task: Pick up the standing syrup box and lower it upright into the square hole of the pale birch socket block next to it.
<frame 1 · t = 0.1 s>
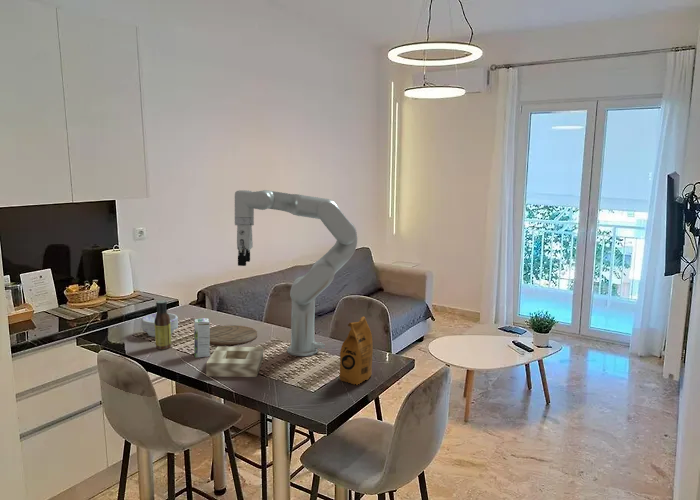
hand: (244, 263, 210), 37 cm above the table, tool pointing down, fingers open, 9 cm apart
coffee package: (355, 378, 190), on the table
sauce bottle: (163, 348, 217), on the table
trivet: (229, 337, 233), on the table
paper bowls: (160, 334, 234), on the table
syrup box: (202, 355, 209), on the table
socket block: (236, 367, 197), on the table
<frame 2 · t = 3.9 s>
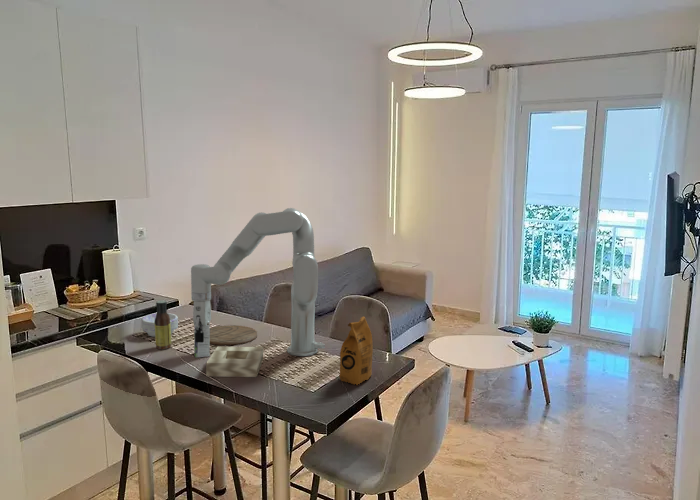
hand: (201, 338, 208), 7 cm above the table, tool pointing down, fingers closed on syrup box, 7 cm apart
syrup box: (202, 355, 209), on the table, touching gripper
everything else where it was.
when the fingers open (8 cm above the table, at t = 11.8 s): syrup box stays where it is, resting on socket block.
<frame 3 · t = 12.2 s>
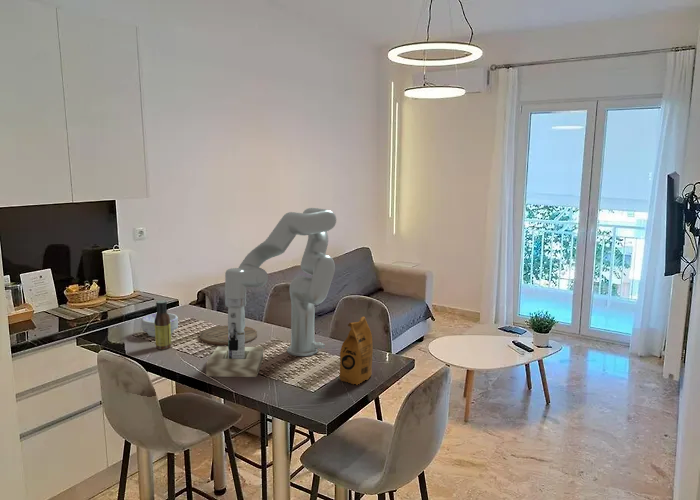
hand: (236, 345, 196), 8 cm above the table, tool pointing down, fingers open, 9 cm apart
syrup box: (236, 366, 197), resting on socket block
everything else where it was.
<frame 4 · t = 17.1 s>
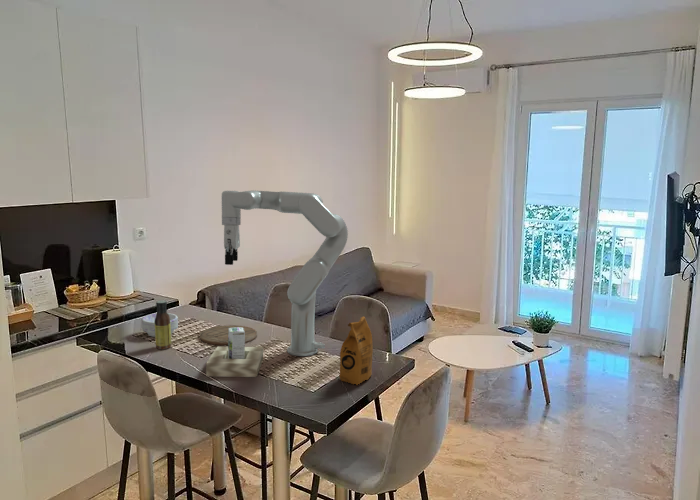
hand: (231, 262, 214), 36 cm above the table, tool pointing down, fingers open, 9 cm apart
nothing on the table moved.
at the end: syrup box 0.1 cm off-centre on the socket block, point 0.2 cm above the socket block's base; syrup box tilted 0°; the gripper is holding nothing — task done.
